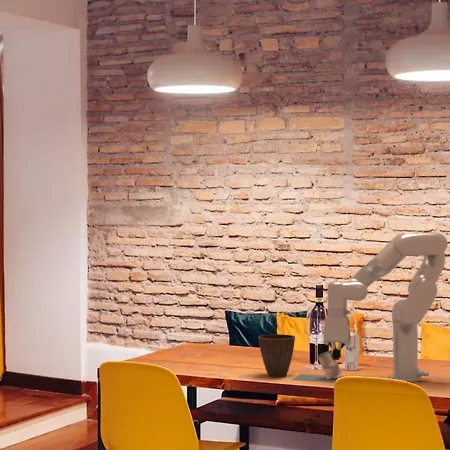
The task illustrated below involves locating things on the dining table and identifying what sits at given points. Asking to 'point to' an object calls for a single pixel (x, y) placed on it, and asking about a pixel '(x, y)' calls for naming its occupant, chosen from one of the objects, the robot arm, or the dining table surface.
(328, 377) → the capped block
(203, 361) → the dining table surface
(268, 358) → the plant pot
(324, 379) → the rubber mat
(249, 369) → the dining table surface
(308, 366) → the dining table surface
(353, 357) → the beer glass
